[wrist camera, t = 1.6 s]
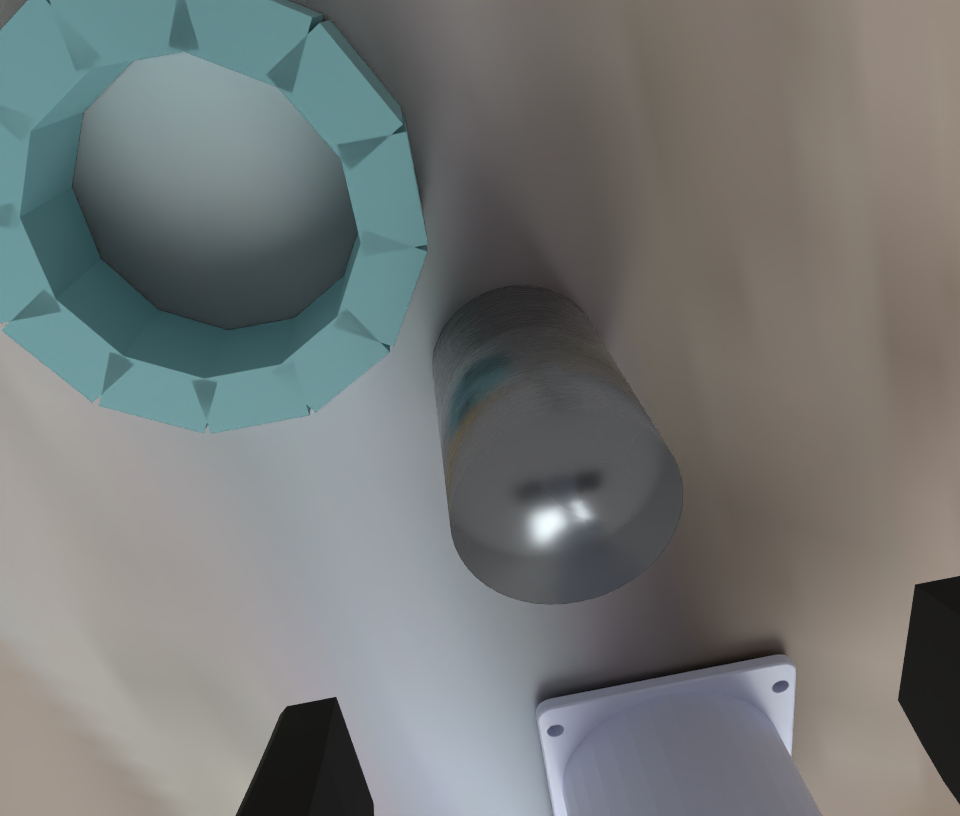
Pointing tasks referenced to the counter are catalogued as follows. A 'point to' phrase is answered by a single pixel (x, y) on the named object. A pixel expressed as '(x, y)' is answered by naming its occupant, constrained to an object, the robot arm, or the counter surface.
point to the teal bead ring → (122, 309)
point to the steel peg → (547, 452)
